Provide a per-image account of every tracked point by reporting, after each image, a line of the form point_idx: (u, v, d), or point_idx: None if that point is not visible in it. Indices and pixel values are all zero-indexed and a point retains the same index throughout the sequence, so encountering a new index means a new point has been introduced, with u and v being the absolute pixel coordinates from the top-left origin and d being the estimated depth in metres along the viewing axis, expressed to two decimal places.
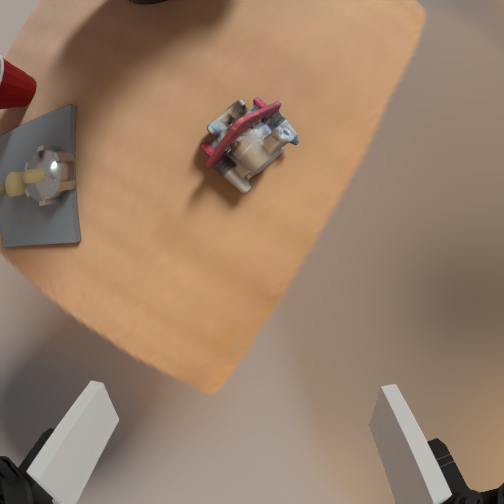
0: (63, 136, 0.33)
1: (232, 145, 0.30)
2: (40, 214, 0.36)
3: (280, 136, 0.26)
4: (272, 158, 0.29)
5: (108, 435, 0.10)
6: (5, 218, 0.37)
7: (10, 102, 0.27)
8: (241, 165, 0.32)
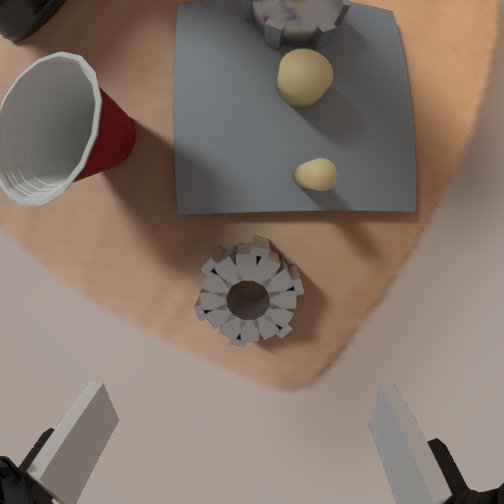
0: (229, 6, 0.19)
1: None
2: (360, 61, 0.20)
3: None
4: None
5: (108, 435, 0.10)
6: (364, 180, 0.23)
7: (115, 105, 0.18)
8: None
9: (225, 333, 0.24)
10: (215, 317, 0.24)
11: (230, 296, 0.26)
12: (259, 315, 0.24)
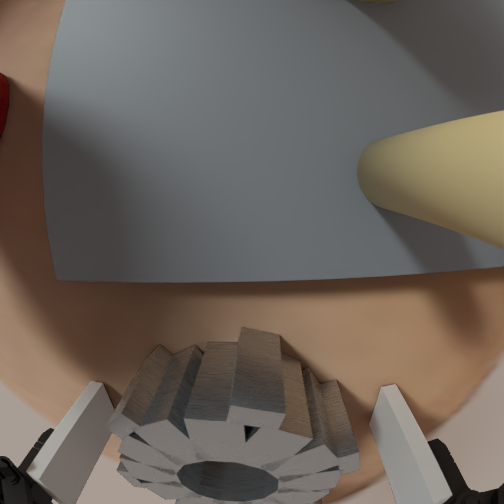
0: None
1: None
2: None
3: None
4: None
5: (108, 435, 0.10)
6: None
7: None
8: None
9: None
10: (163, 490, 0.08)
11: None
12: (255, 494, 0.08)
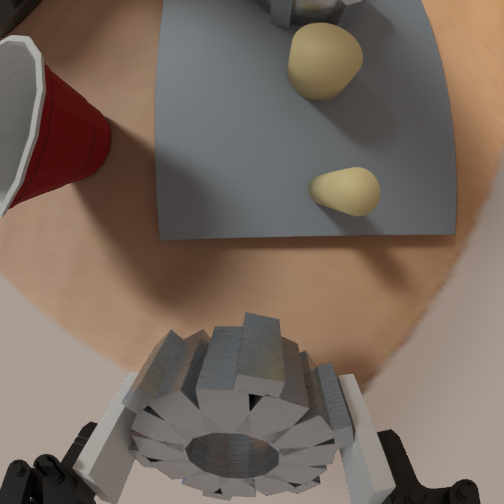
0: None
1: None
2: (388, 47, 0.15)
3: None
4: None
5: None
6: (398, 196, 0.17)
7: (78, 99, 0.13)
8: None
9: (193, 486, 0.09)
10: (170, 468, 0.09)
11: None
12: (257, 471, 0.09)
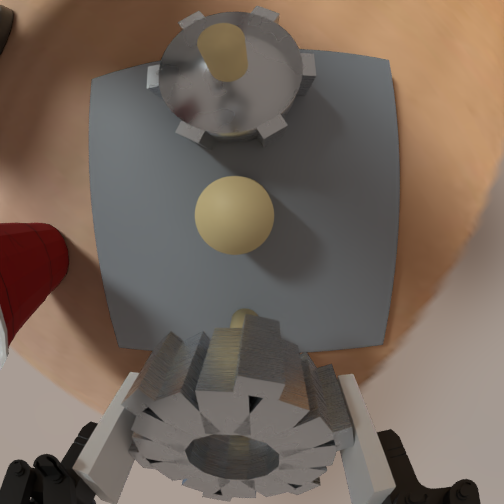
0: None
1: None
2: (330, 156, 0.17)
3: None
4: None
5: None
6: (320, 321, 0.20)
7: (28, 250, 0.15)
8: None
9: (192, 487, 0.09)
10: (170, 470, 0.09)
11: None
12: (257, 473, 0.09)
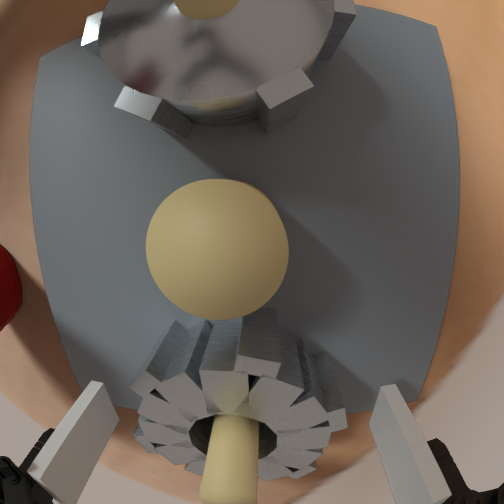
0: None
1: None
2: (370, 149, 0.10)
3: None
4: None
5: (108, 435, 0.10)
6: (343, 382, 0.13)
7: None
8: None
9: (195, 471, 0.10)
10: (174, 454, 0.10)
11: None
12: None
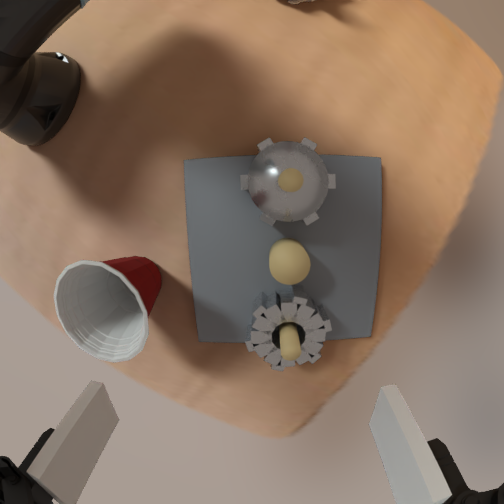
0: (230, 168, 0.29)
1: None
2: (340, 225, 0.30)
3: None
4: None
5: (108, 435, 0.10)
6: (331, 321, 0.33)
7: (147, 279, 0.28)
8: None
9: (268, 361, 0.30)
10: (262, 349, 0.29)
11: (272, 331, 0.31)
12: None
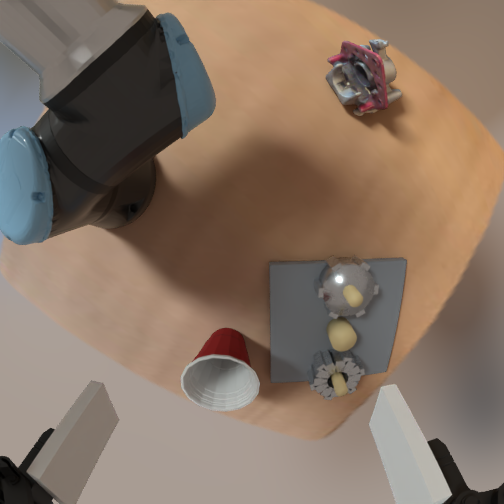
0: (304, 272, 0.41)
1: (374, 83, 0.30)
2: (374, 307, 0.42)
3: (384, 43, 0.25)
4: (390, 59, 0.28)
5: (108, 435, 0.10)
6: None
7: (246, 352, 0.40)
8: None
9: (323, 394, 0.42)
10: (320, 388, 0.41)
11: None
12: None
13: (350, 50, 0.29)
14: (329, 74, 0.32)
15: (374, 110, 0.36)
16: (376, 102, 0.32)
